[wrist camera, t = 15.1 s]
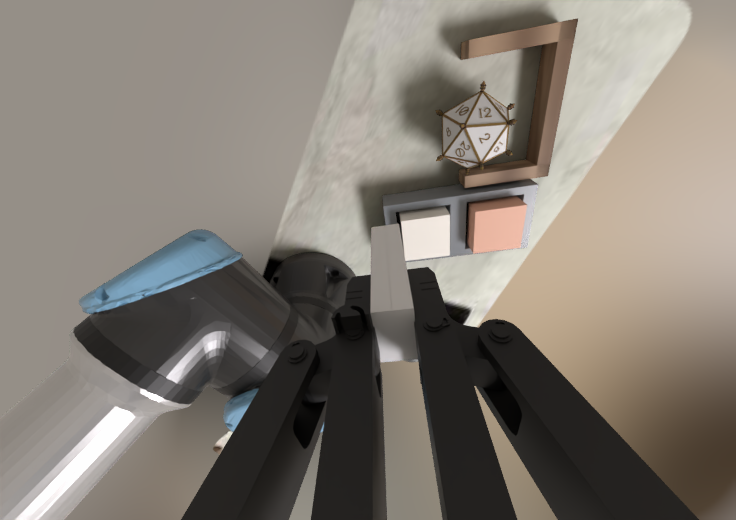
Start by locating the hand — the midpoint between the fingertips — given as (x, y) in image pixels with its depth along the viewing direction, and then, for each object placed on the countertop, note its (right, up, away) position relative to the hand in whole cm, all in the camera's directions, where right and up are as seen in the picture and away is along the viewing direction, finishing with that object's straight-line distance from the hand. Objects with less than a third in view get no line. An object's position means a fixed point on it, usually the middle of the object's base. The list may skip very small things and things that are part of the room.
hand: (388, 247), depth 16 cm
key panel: (+11, +6, +25) cm, 28 cm away
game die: (+11, +16, +19) cm, 27 cm away
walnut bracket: (+15, +17, +18) cm, 29 cm away
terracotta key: (+15, +5, +22) cm, 27 cm away
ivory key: (+6, +4, +23) cm, 24 cm away
